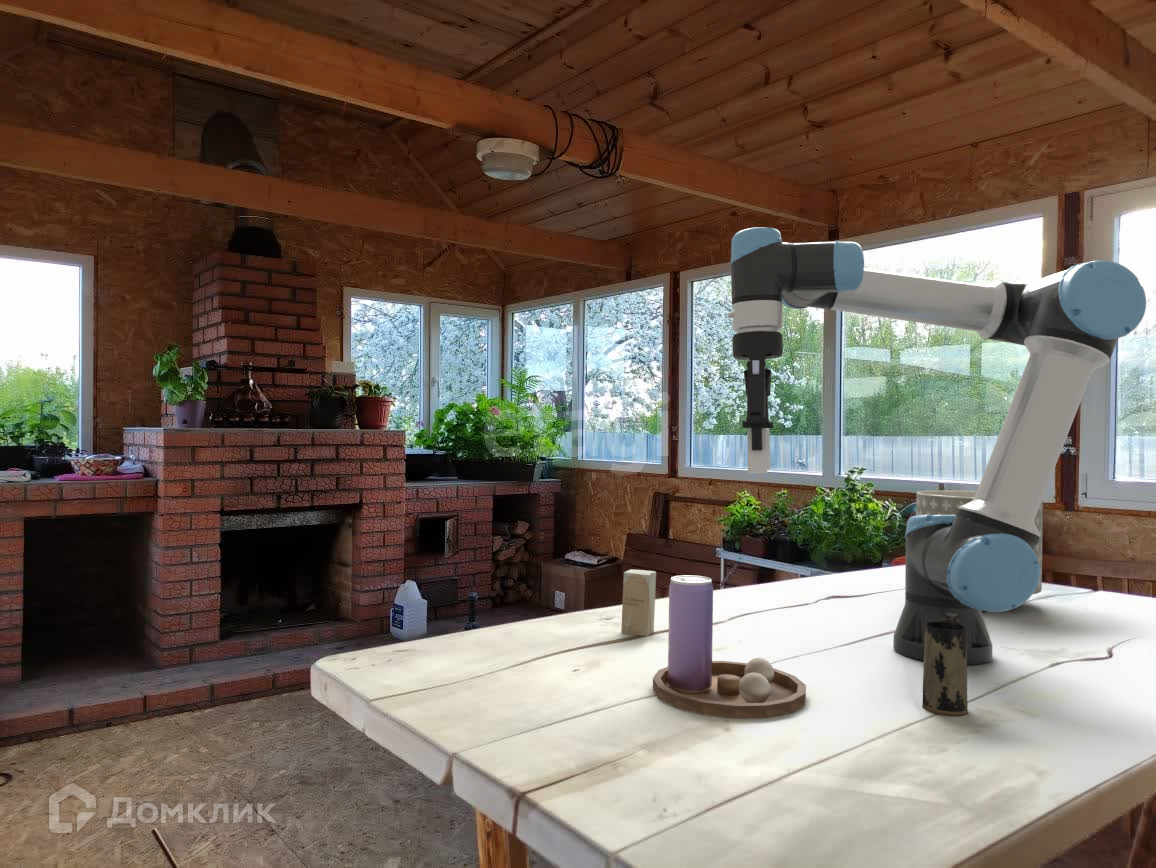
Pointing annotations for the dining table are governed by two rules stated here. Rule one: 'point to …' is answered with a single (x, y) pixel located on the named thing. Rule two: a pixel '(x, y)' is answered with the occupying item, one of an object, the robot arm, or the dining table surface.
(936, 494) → the planter
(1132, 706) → the dining table surface
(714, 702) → the tray
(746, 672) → the bead
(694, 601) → the beverage can
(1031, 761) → the dining table surface
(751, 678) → the bead
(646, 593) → the box
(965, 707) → the mug
